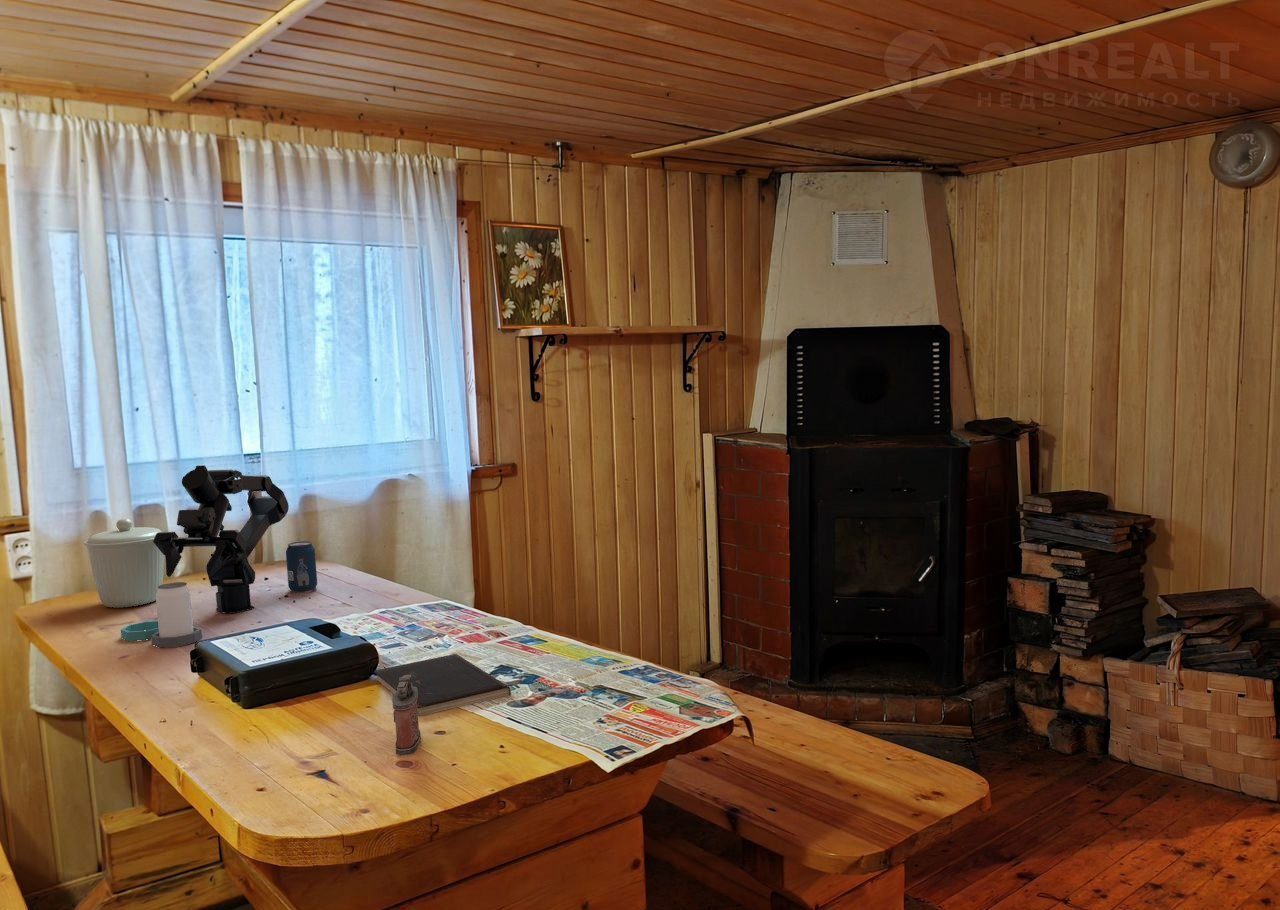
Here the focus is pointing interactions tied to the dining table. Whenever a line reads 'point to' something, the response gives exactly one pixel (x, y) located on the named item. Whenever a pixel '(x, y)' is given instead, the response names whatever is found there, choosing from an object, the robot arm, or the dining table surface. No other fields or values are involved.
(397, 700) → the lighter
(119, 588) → the canister
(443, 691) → the hardcover book
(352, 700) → the dining table surface
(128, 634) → the socket
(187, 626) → the can
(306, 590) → the soda can
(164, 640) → the socket
